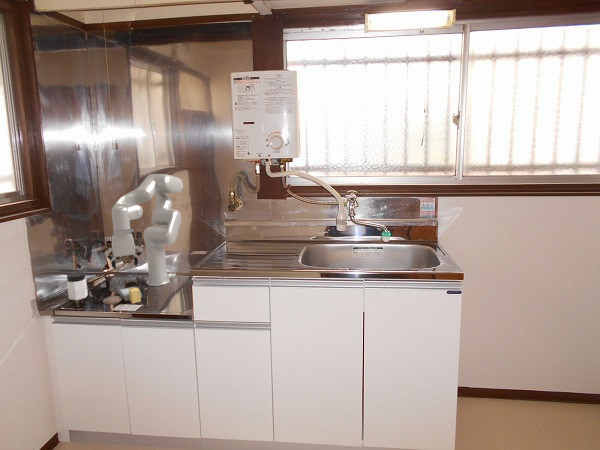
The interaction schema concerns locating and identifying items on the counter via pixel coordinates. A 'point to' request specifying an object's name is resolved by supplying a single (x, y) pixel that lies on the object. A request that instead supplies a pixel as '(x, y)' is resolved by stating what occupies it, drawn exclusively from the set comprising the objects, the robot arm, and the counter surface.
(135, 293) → the stub
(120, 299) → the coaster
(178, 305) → the counter surface
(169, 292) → the counter surface
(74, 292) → the jar
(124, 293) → the gray flat block
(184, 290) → the counter surface
